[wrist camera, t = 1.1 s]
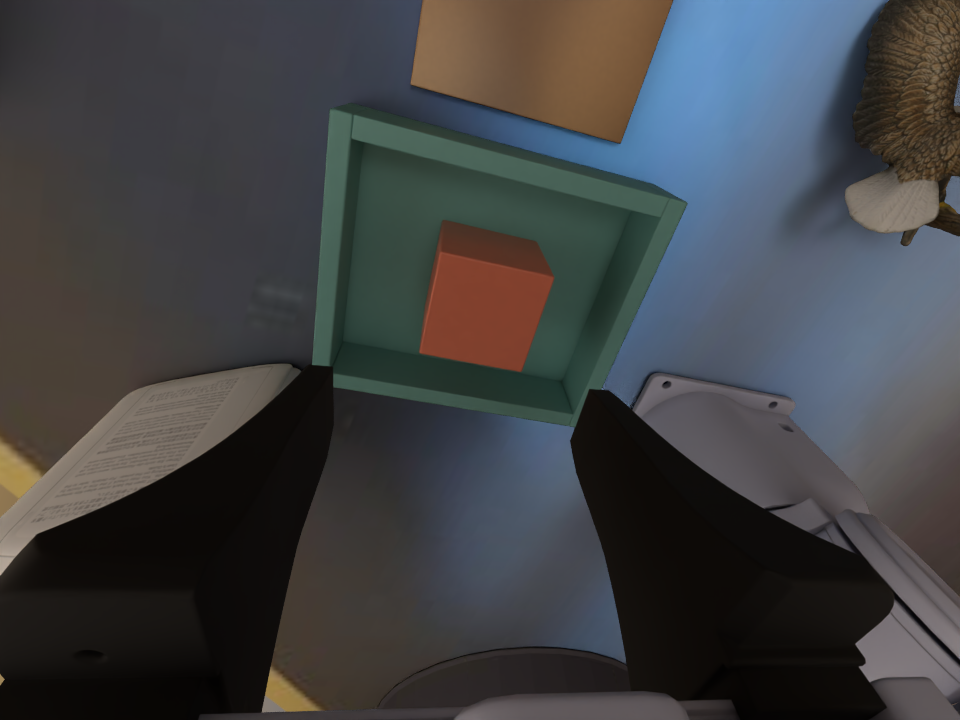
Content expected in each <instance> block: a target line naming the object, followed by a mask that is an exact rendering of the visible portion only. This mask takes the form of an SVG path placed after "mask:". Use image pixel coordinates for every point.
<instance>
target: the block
mask: <svg viewBox="0 0 960 720" xmlns="http://www.w3.org/2000/svg"><path fill="white" fill-rule="evenodd" d="M553 281H554V275H553V273H552V271H551V269H550V267H549V265H548V263H547V261H546V259H545V257H544V255H543V253H542V251H541V249H540V247H539V245H538V243H537V242H536V241H533V240H528V239H524V238H520V237H516V236H511V235H507V234H503V233H499V232H494V231H490V230H486V229H482V228H477V227H473V226H469V225H465V224H460V223H456V222H452V221H447V220H443V221H442V224H441V229H440V234H439V239H438V244H437V249H436V254H435V259H434V263H433V268H432V273H431V278H430V283H429V288H428V293H427V298H426V303H425V309H424V317H423V325H422V332H421V340H420V348H419V353H421V354H425V355H430V356H436V357H441V358H447V359H452V360H458V361H463V362H469V363H474V364H479V365H485V366H490V367H496V368H501V369H507V370H512V371H518V372H522V370H523V367H524V364H525V361H526V359H527V356H528V353H529V350H530V347H531V344H532V341H533V338H534V336H535V333H536V330H537V327H538V324H539V321H540V318H541V316H542V313H543V310H544V307H545V304H546V301H547V298H548V295H549V293H550V290H551V287H552V284H553Z"/></svg>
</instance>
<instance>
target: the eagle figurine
mask: <svg viewBox="0 0 960 720" xmlns="http://www.w3.org/2000/svg"><path fill="white" fill-rule="evenodd" d="M871 34H872V36H871V37H870V38H869V39H868V42H867V47H868V49H869V51H870V53H869V54H868V56H867V61H866V64H865V70H866V72H867V73H868V75H867V76H866V77H865V79H864V82H863V83H864V87H863V89H862V90H861V96H862V98H863V99H862V101H861V102H859V103H858V104H857V105H856V111H855V113H854V114H853V116H852V118H853V121H854V122H853V129H854V130H855V132H856V133H855V141H856V142H858V143H859V145H860V147H861V148H868V149H870V150H871V152H872V153H873V154H874V155H882V162H884V163H887V164H888V165H889V167H888V168H887V169H886V170H884V171H882V172H879V173H877V174H875V175H872V176H870V177H868V178H866V179H863V180H861V181H859V182H856V183H854V184H852V185H850V186H849V187H847V188H846V191H845V201H846V204H847V206H848V208H849V212H850V217H851V218H852V220H854V221H856V222H858V223H860V224H861V225H862V226H863V227H864V228H866V229H868V230H872V231H876V232H878V233H893V232H903V231H904V233H903V236H902V239H901V244H902V245H903V246H908V245H909V244H910V243H911V241H912V239H913V237H914V235H915V234H916V232H917V230H918V229H919V227H921V226H923V225H927V226H930V227H933V228H938V229H941V230H943V231H946V232H949V233H951V234H953V235H956V236H960V214H958V213H957V212H956V211H955V209H953V208H952V207H951V206H950V205H948V204H946V203H945V202H944V200H945V197H946V187H947V184H948V182H949V180H950V178H951V176H959V177H960V106H954V99H955V93H956V89H957V84H958V78H959V74H960V0H889V1H888V2H887V3H886V4H885V7H884V8H883V10H882V11H881V13H880V14H879V17H878V21H877V22H876V23H875V24H874V25H873V27H872V31H871Z"/></svg>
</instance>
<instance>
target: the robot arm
mask: <svg viewBox="0 0 960 720" xmlns="http://www.w3.org/2000/svg"><path fill="white" fill-rule="evenodd" d="M666 381H668V383H667V384H665V385H662V384H663V383H664V382H666ZM771 402H772V403H771ZM770 403H771V404H770ZM794 408H795V402H794V401H793V400H792V399H791V398H788V397H783V396H778V395H773V394H768V393H762V392H757V391H752V390H747V389H742V388H737V387H731V386H726V385H721V384H716V383H711V382H706V381H700V380H695V379H690V378H685V377H680V376H675V375H669V374H664V373H654V374H653V375H651V376H650V377H649V379H648V381H647V382H646V384H645V386H644V388H643V390H642V392H641V394H640V396H639V398H638V400H637V402H636V404H635V405H634V407H633V409H632V410H631V409H630V408H629V407H628V406H627V405H626V404H625V403H623V402H622V401H621V400H620V399H619V398H618V397H617V396H615V395H614V394H613V393H612V392H610V391H609V390H597V389H589V391H588V394H587V396H586V399H585V402H584V405H583V407H582V410H581V413H580V416H579V418H578V421H577V424H576V427H575V429H574V432H573V435H572V438H571V440H570V442H571V448H572V454H573V459H574V464H575V468H576V473H577V476H578V479H579V482H580V485H581V488H582V490H583V493H584V496H585V499H586V502H587V505H588V508H589V510H590V513H591V516H592V519H593V522H594V525H595V528H596V530H597V533H598V536H599V539H600V542H601V545H602V549H603V552H604V555H605V559H606V564H607V568H608V572H609V576H610V580H611V585H612V589H613V594H614V599H615V604H616V608H617V613H618V618H619V623H620V628H621V634H622V640H623V645H624V651H625V656H626V662H627V668H628V675H629V682H630V689H631V691H627V692H585V693H544V694H514V695H507V696H500V697H493V698H487V699H485V700H482V701H480V702H477V703H475V704H472V705H470V706H467V707H444V708H408V709H372V710H337V711H301V712H266V713H261V712H262V707H263V702H264V697H265V692H266V687H267V682H268V677H269V672H270V667H271V662H272V657H273V652H274V648H275V643H276V638H277V633H278V628H279V624H280V619H281V615H282V610H283V606H284V601H285V597H286V592H287V588H288V583H289V579H290V575H291V571H292V566H293V562H294V558H295V553H296V549H297V545H298V542H299V539H300V535H301V532H302V529H303V526H304V523H305V520H306V517H307V514H308V511H309V509H310V506H311V503H312V500H313V497H314V494H315V491H316V488H317V486H318V483H319V480H320V477H321V474H322V471H323V468H324V465H325V462H326V459H327V455H328V450H329V446H330V441H331V436H332V431H333V426H334V402H333V367H332V366H321V365H308V366H307V367H305V368H304V369H303V370H302V371H301V372H300V373H299V375H298V376H297V377H296V378H295V379H294V380H293V381H292V382H291V383H290V384H289V385H288V386H286V387H285V388H284V389H283V390H282V391H281V392H280V393H279V394H278V395H277V396H276V397H275V398H274V399H273V400H272V401H270V402H269V403H268V404H267V405H266V406H265V407H264V408H263V409H262V410H260V411H259V412H258V413H257V414H256V415H254V416H253V417H252V418H251V419H249V420H248V421H247V422H246V423H245V424H243V425H242V426H241V427H240V428H238V429H237V430H236V431H235V432H233V433H232V434H231V435H229V436H228V437H227V438H225V439H224V440H222V441H221V442H220V443H218V444H217V445H215V446H214V447H212V448H211V449H209V450H208V451H206V452H205V453H203V454H202V455H200V456H199V457H197V458H196V459H194V460H192V461H190V462H189V463H187V464H185V465H183V466H182V467H180V468H178V469H176V470H175V471H173V472H171V473H170V474H168V475H166V476H164V477H163V478H161V479H159V480H157V481H155V482H153V483H151V484H149V485H147V486H145V487H143V488H141V489H139V490H138V491H136V492H133V493H131V494H129V495H127V496H125V497H123V498H121V499H119V500H117V501H115V502H112V503H110V504H108V505H106V506H104V507H101V508H99V509H97V510H94V511H92V512H90V513H87V514H85V515H82V516H80V517H77V518H75V519H73V520H70V521H68V522H65V523H63V524H60V525H58V526H56V527H53V528H51V529H48V530H46V531H43V532H40V533H38V534H36V535H35V536H34V537H33V539H32V540H31V541H30V542H29V543H28V544H27V545H26V546H25V547H24V548H23V549H22V550H21V551H20V552H19V553H18V554H17V556H16V557H15V558H14V559H13V560H12V562H11V563H10V564H9V565H8V567H7V568H6V569H5V570H4V571H3V573H2V574H1V575H0V674H1V676H2V677H3V678H4V679H5V680H4V681H3V683H2V684H1V685H0V720H960V597H959V596H958V595H957V594H956V593H955V592H954V591H953V590H952V589H951V588H950V587H949V586H948V585H947V584H946V583H945V582H944V581H943V580H942V579H941V578H940V577H939V576H938V575H937V574H936V573H935V572H934V571H933V570H932V569H931V568H930V567H929V566H928V565H927V564H926V563H925V562H924V561H923V560H922V559H921V558H920V557H919V556H918V555H917V554H916V553H915V552H914V551H913V550H912V549H911V548H910V547H909V546H908V545H906V544H905V543H904V542H903V541H902V540H901V539H900V538H899V537H898V536H897V535H896V534H895V533H894V532H893V531H891V530H890V529H889V528H888V527H887V526H886V525H885V524H884V523H882V522H881V521H880V520H879V519H878V518H876V517H875V516H873V515H870V512H869V509H868V506H867V504H866V501H865V499H864V497H863V495H862V494H861V492H860V491H859V489H858V488H857V486H856V485H855V484H854V483H853V482H852V481H851V480H850V479H849V478H848V477H847V476H846V475H845V474H844V473H843V472H842V470H841V469H840V468H839V467H838V466H837V465H836V464H835V463H834V462H833V461H832V460H831V459H830V458H829V457H828V456H827V455H826V454H825V453H824V452H823V451H822V450H821V449H820V448H819V447H818V446H817V445H816V444H815V443H814V442H813V441H812V440H811V439H810V438H809V437H808V436H807V435H806V434H805V433H804V432H803V431H802V430H801V429H800V428H799V427H798V426H797V425H796V424H795V423H794V422H793V421H792V420H791V419H790V418H789V417H788V416H789V415H790V413H791V412H792V411H793V409H794ZM955 703H957V704H955ZM952 704H955V705H952Z"/></svg>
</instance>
